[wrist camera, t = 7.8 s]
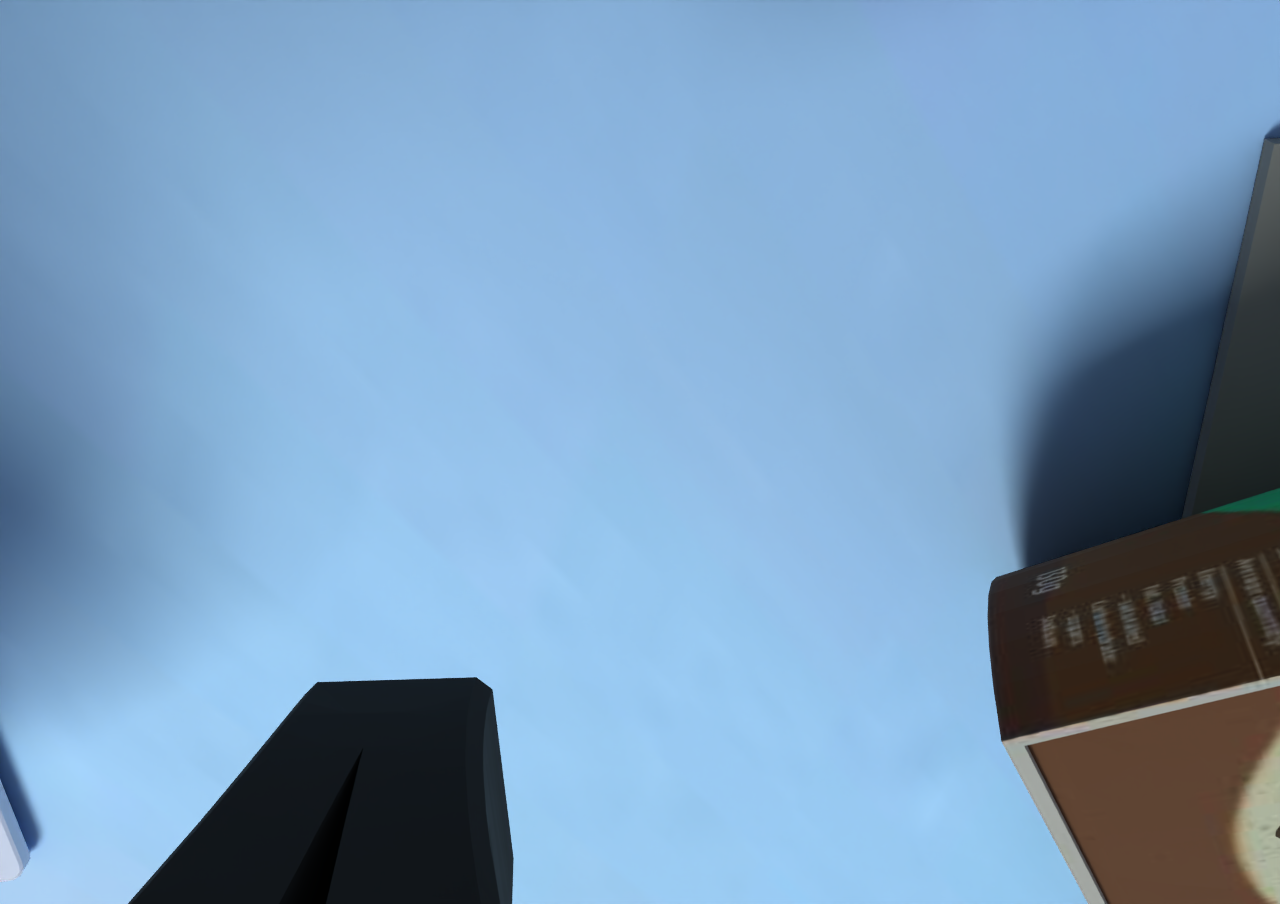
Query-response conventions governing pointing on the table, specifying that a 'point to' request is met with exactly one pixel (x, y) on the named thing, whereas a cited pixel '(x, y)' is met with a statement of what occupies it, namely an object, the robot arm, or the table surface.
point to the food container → (1152, 706)
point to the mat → (1246, 364)
